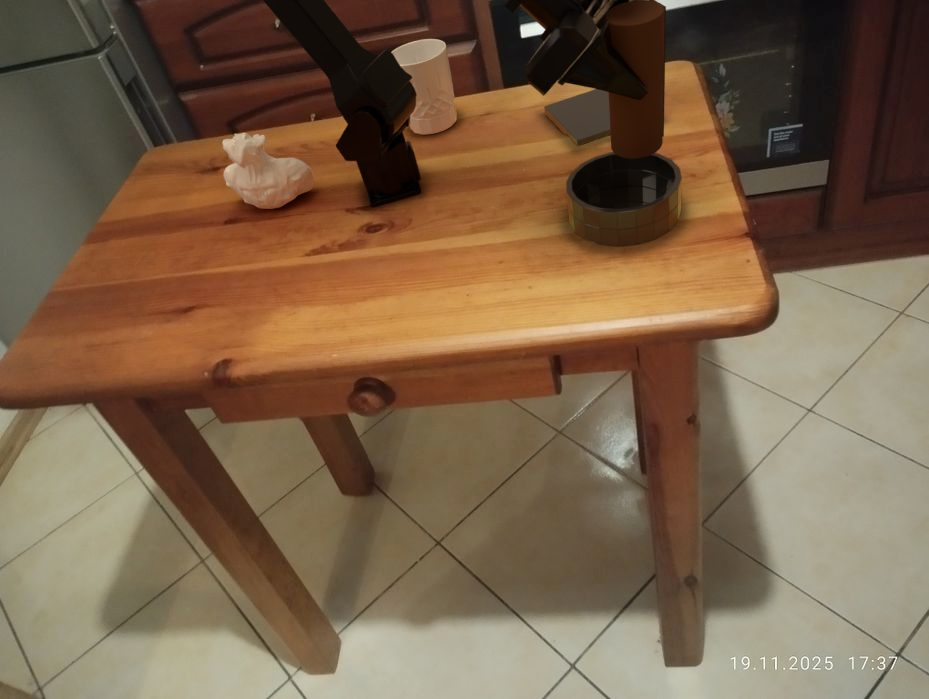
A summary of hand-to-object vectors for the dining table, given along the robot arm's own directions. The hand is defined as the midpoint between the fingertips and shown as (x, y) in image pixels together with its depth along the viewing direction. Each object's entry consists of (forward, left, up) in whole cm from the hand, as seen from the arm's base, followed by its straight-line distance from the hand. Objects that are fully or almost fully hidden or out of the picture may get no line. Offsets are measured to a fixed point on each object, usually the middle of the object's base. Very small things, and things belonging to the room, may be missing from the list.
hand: (651, 80), depth 63 cm
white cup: (-18, +32, -13) cm, 39 cm away
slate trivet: (+2, +20, -13) cm, 24 cm away
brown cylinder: (-1, +1, -7) cm, 7 cm away
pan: (-4, -1, -13) cm, 14 cm away
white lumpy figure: (-41, +23, -13) cm, 49 cm away
